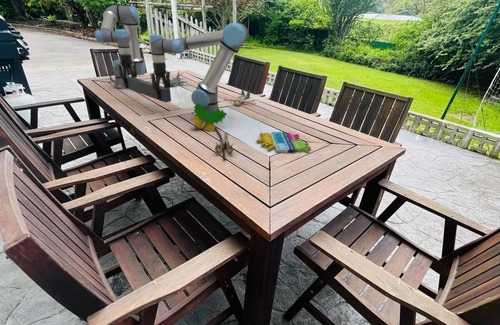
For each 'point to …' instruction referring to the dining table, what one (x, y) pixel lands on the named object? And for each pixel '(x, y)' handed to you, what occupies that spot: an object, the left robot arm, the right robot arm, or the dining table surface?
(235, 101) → the toy
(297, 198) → the dining table surface
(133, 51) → the left robot arm
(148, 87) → the bar
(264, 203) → the dining table surface
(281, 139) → the sign
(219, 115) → the ornament
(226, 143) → the jawbone
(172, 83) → the airplane
